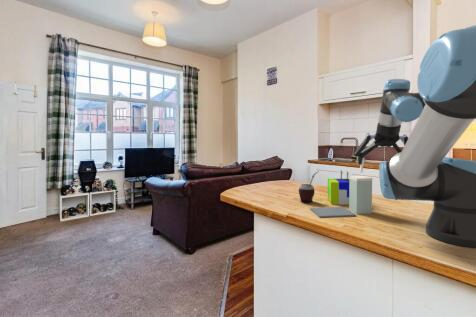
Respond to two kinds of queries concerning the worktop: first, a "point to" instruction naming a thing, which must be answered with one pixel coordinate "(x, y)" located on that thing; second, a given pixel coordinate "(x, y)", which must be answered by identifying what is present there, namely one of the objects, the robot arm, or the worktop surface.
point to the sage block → (360, 194)
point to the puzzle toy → (338, 191)
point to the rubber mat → (332, 212)
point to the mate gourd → (307, 192)
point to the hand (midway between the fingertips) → (379, 172)
